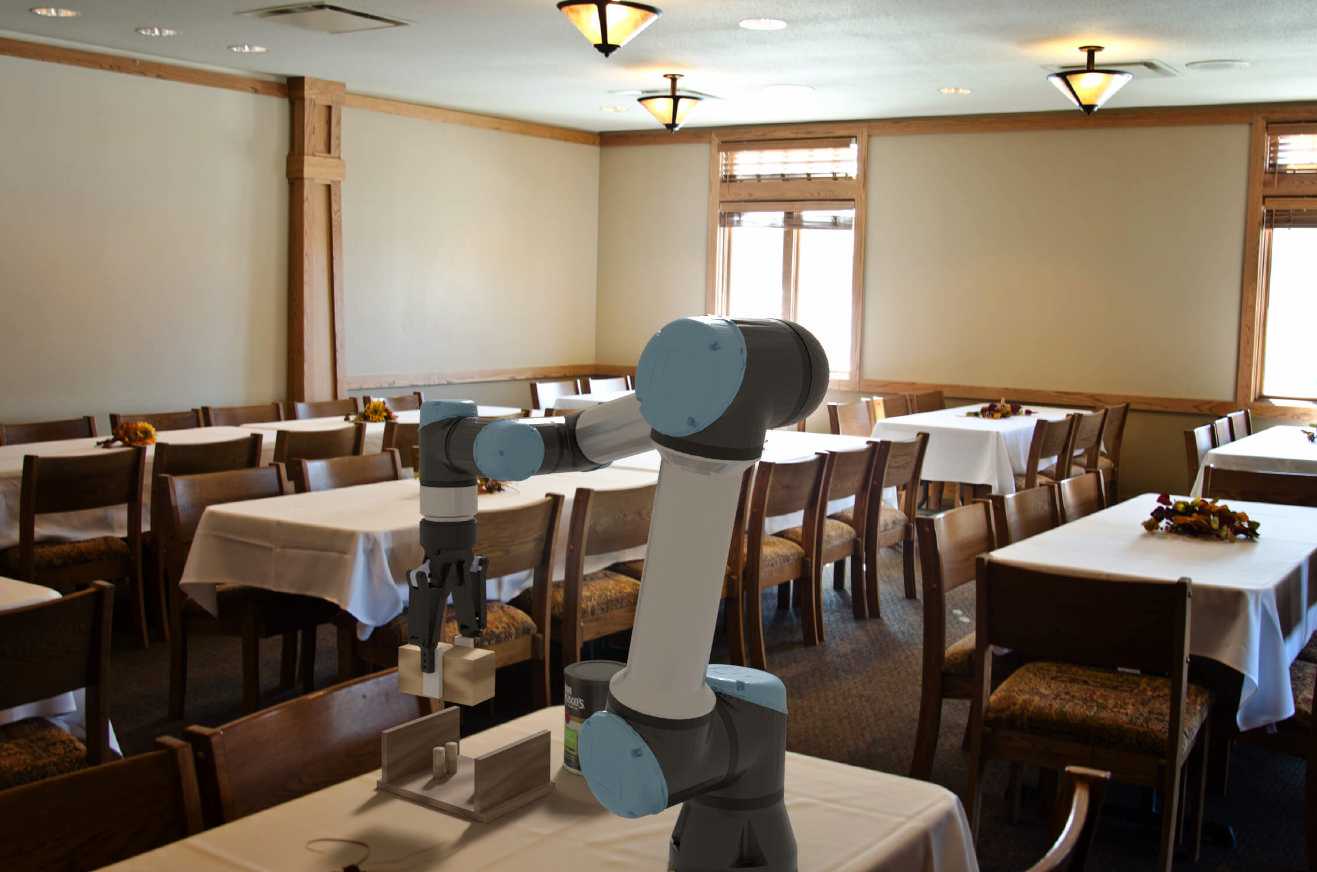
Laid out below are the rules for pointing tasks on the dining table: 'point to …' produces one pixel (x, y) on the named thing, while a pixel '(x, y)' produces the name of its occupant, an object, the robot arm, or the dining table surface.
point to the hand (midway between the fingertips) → (448, 689)
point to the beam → (451, 673)
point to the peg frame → (463, 768)
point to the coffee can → (584, 701)
